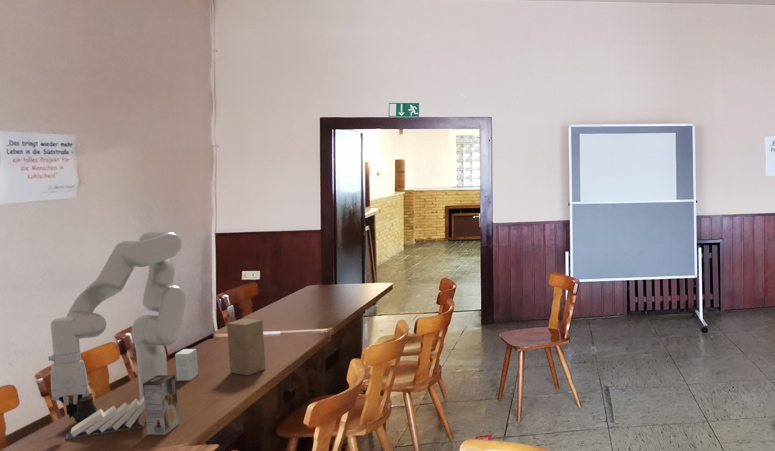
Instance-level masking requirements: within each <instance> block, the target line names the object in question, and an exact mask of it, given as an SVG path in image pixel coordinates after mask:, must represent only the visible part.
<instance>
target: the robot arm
mask: <svg viewBox="0 0 775 451" xmlns="http://www.w3.org/2000/svg"><path fill="white" fill-rule="evenodd" d="M182 245H183V244H182V239H181V237H180V236H179V235H178V234H176V232H175V233H174V232H172V231H147V232H145V233H143V234H142V235H141V236H140V237H139V240H123V241H120V242H119V243H117V244H116V245H115V246H114V248H113V250H112V251H111V254H110V255H109V257H108V258H107V261H106V262H105V264H104V266H103V267H102V269H101V271H100V273H99V275H98V276H97V277H96V279H95V280H94V281H93V282H92V283H91V284H89V286H87V288H86V289H84V290H83V291H82V292H81V293H80V294H79V295H78V296H77V298H76V299H75V301H74V302H73V303H72V306H71V307H70V308H69V310H68V313H67V314H66V316H65V317H57V318H54V319H53V320H52V321H51V323H50V333H51V343H52V351H53V352H52V353H53V354H52V355H49V356H48V361H51V362H53V363H52V364H51V366H50V390H51V391H50V394H51V401H57V402H58V401H59V402H61V403H62V404H63V405H65V409H66V411H65V412H66V415H68V417H69V419H71V418H74V417H75V415H76V413H78V410H77V402H78V401H79V400H80V399H81V398H82V397H85V396H90V390H89V382H88V375H87V374H88V373H87V369H86V365H85V361H84V359H82V358H81V357H82V356H81V348H80V347H81V345H80V339H89V338H96V337H99V336H101V335H102V334H103V333H104V332H105V330H106V329H107V320H106V319H105V318H104V317H103V315H101V314H98V313H96V312H95V310H96V308H98V306H100V305H101V303H102V302H104V301H105V300H107V299H109V298H112V297H114V296H115V295H117V294H119V293H120V292H122V291H123V289H124V287H125V285H126V284H127V282H128V280H129V278H130V277H131V274H132V273H133V271H134V269H135V268H136V267H137V268H138V267H139V268H144V267H148V273H147V274H148V276H147V280H146V283H145V288H144V293H143V298H142V304H143V306H144V308H145V309H146V310H148V311H150V312H155V313H158V314H157V315H152V314H145V315H142V316H139V317H137V318H136V319H135V320H134V322H133V323H132V326H131V336H132V341H133V344H134V347H135V353H136V365H137V366H136V367H137V376H138V391H139V401H141V399H142V398H143V396H144V390H143V384H144V383H145V382H147V381H149V380H150V379H152V378H154V377H155V376H157V375H169V374H168V366H167V364H168V361H167V360H168V359H167V353H166V349H165V347H167V346H168V347H169V346H171V345H172V344H174V343H176V341H177V340H178V338H179V335H180V333H181V328H182V324H183V319H184V315H185V310H186V305H187V298H186V294H185V291H184V290H183V288H182V287H180V286H179V285H175V284H174V278H175V273H176V272H175V262H174V261H173V260H174V259H173V258H174V257H176V256H177V255H178V254H179V253H180V251H181V250H182V247H183V246H182ZM94 312H95V313H94ZM72 396H73V397H72ZM70 397H72V401H70Z"/></svg>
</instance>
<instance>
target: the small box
mask: <svg viewBox="0 0 775 451" xmlns="http://www.w3.org/2000/svg"><path fill="white" fill-rule="evenodd" d="M174 358H175V368H176V370H175V371H176V372H175V373H176V382H177V381H178V382H179V381H182V382H183V381H187V382H188V381H192V380H193V379H194V378H195V377H197V376H198V375H199V368H198V353H197V348H183V349H181V350H179V351H177V352H176V353H175V355H174Z"/></svg>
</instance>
